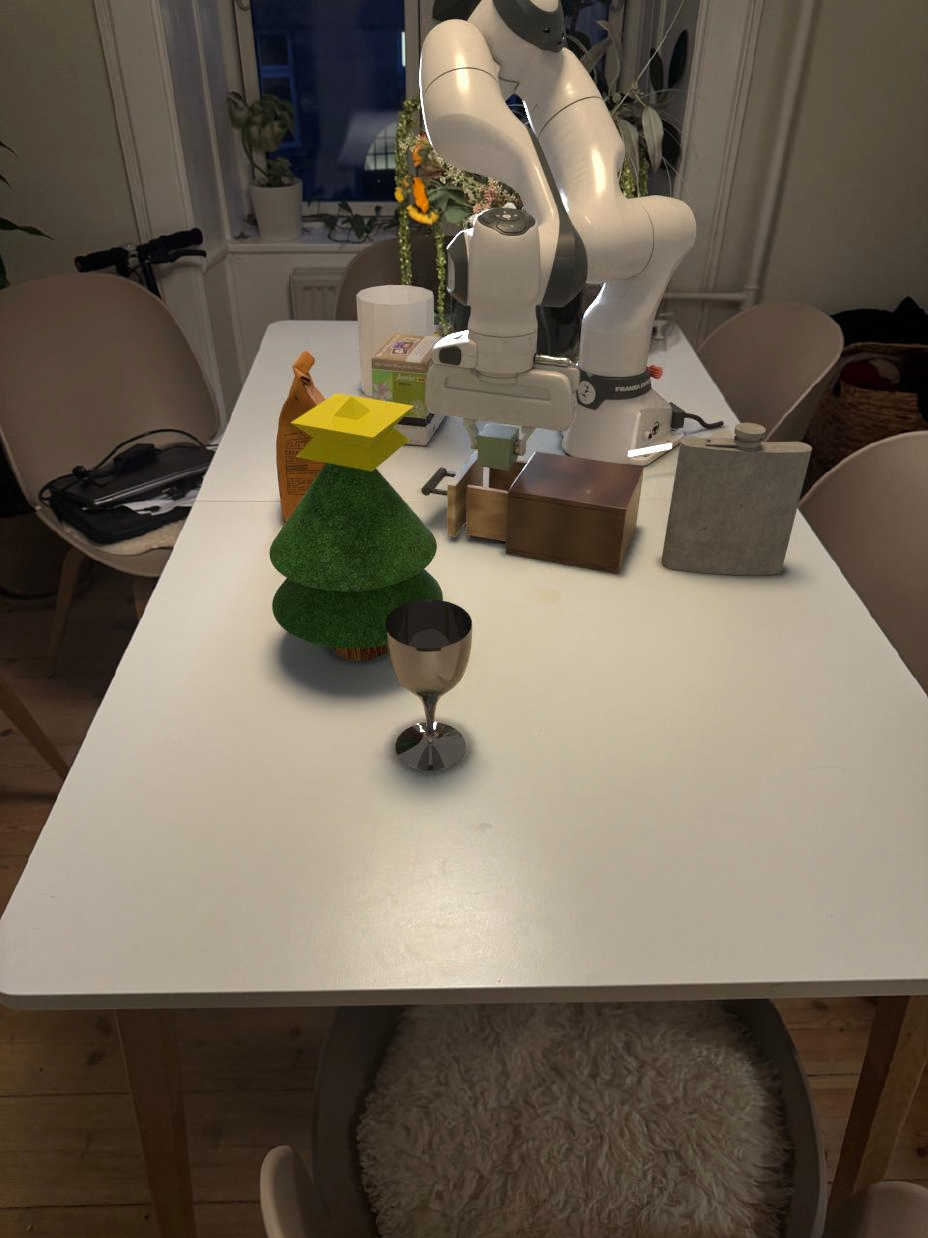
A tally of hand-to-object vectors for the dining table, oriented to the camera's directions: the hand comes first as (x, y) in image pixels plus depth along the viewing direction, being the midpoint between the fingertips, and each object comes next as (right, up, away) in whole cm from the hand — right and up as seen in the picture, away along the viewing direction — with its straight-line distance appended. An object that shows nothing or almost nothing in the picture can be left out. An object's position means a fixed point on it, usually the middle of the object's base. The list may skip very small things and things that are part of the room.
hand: (498, 450), depth 120 cm
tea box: (-14, +11, +37) cm, 41 cm away
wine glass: (-8, -36, -32) cm, 48 cm away
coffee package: (-27, -6, +12) cm, 30 cm away
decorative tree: (-17, -26, -17) cm, 35 cm away
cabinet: (+11, -12, +4) cm, 16 cm away
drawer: (0, -9, +6) cm, 11 cm away
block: (0, -1, +1) cm, 2 cm away
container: (-18, +23, +54) cm, 62 cm away
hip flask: (+30, -16, -2) cm, 34 cm away
